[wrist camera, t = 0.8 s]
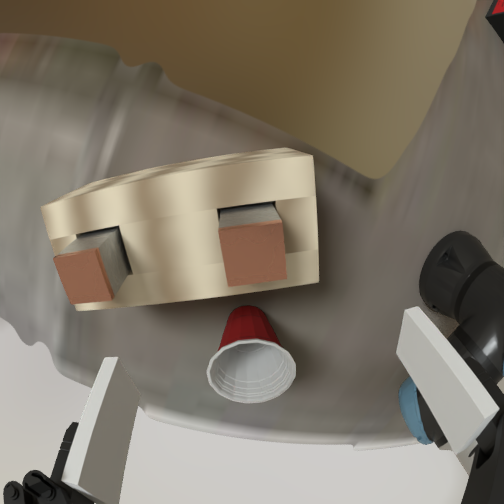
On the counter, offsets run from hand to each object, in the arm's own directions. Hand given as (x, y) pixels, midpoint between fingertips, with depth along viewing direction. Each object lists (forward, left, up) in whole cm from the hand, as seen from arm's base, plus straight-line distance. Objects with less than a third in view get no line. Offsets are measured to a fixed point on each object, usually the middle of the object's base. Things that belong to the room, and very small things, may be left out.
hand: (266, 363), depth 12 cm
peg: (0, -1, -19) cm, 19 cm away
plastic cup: (+2, +17, -27) cm, 32 cm away
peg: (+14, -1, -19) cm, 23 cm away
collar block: (+7, -1, -27) cm, 28 cm away
